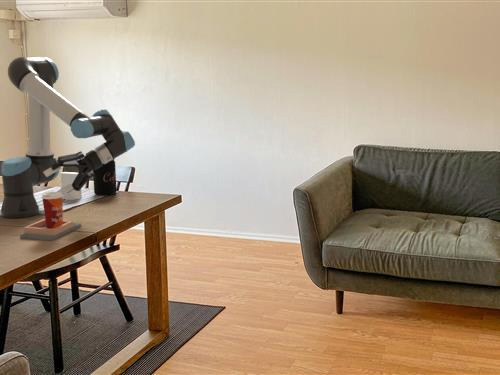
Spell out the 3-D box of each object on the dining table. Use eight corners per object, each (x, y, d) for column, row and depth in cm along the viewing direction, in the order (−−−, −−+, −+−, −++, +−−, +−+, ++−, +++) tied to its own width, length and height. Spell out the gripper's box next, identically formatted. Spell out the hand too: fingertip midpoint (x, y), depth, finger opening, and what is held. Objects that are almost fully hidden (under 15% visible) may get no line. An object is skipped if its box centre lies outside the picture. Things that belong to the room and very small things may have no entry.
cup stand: (20, 237, 223) (19, 228, 222) (52, 224, 242) (51, 215, 241) (51, 240, 219) (50, 231, 219) (81, 226, 238) (80, 217, 238)
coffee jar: (105, 197, 289) (103, 159, 286) (89, 194, 295) (87, 157, 291) (121, 193, 298) (119, 156, 295) (105, 190, 304) (103, 154, 300)
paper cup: (58, 233, 224) (55, 196, 221) (39, 232, 226) (36, 195, 223) (69, 227, 231) (67, 191, 229) (52, 226, 233) (49, 190, 231)
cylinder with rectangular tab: (57, 199, 285) (56, 174, 283) (68, 195, 294) (67, 170, 291) (74, 200, 283) (73, 175, 280) (85, 196, 291) (83, 171, 289)
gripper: (93, 142, 234) (43, 171, 228) (111, 181, 254) (66, 208, 249) (84, 131, 238) (35, 159, 232) (103, 169, 258) (58, 196, 253)
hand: (51, 184), depth 240 cm, fingers open, 13 cm apart
